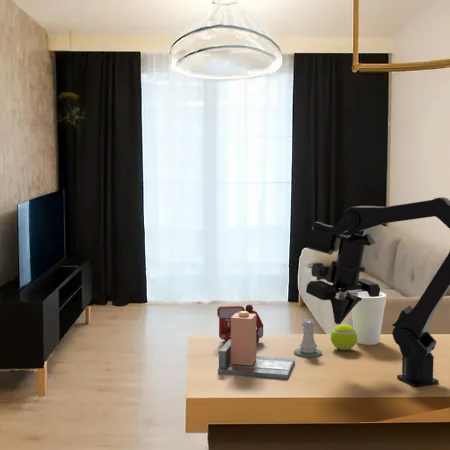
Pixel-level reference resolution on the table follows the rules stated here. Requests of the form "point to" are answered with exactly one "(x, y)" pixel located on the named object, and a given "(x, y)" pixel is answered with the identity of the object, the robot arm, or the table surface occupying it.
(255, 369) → the rail
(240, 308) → the toy fire truck
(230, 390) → the table surface
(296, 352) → the round pad
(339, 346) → the tennis ball
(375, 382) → the table surface
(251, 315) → the block
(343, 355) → the table surface
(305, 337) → the rook chess piece
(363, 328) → the foam cup
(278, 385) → the table surface
